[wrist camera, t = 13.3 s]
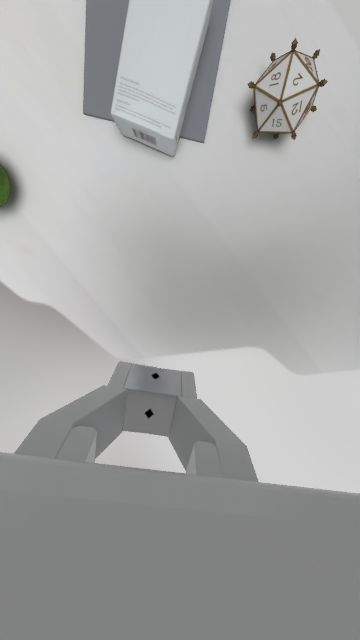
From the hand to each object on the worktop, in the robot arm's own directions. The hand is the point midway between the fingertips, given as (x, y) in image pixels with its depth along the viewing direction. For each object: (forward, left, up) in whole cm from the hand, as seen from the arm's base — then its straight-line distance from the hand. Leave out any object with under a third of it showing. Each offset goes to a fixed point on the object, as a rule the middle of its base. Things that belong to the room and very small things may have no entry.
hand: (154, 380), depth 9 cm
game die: (-10, -24, -31) cm, 41 cm away
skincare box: (+7, -17, -28) cm, 33 cm away
